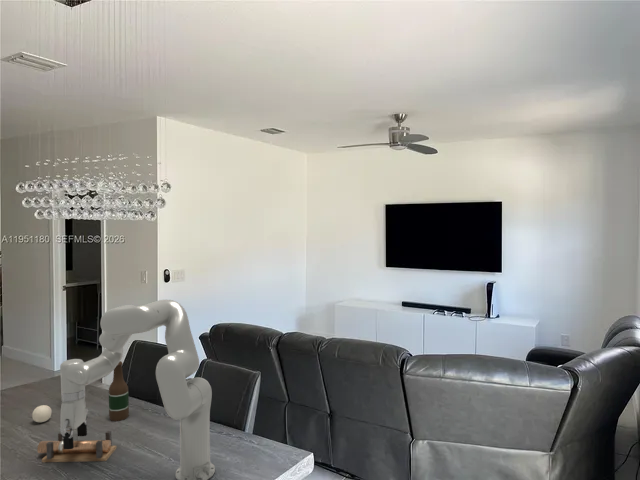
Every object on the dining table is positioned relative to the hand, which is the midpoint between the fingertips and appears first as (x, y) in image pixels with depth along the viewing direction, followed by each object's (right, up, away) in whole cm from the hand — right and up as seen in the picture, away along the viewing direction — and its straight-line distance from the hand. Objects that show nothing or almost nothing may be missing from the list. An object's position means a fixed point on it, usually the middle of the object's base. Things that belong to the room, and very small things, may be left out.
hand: (75, 442), depth 164 cm
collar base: (+1, -5, 0) cm, 5 cm away
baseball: (-29, -4, +28) cm, 41 cm away
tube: (0, -4, 0) cm, 4 cm away
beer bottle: (+2, -4, +32) cm, 32 cm away
